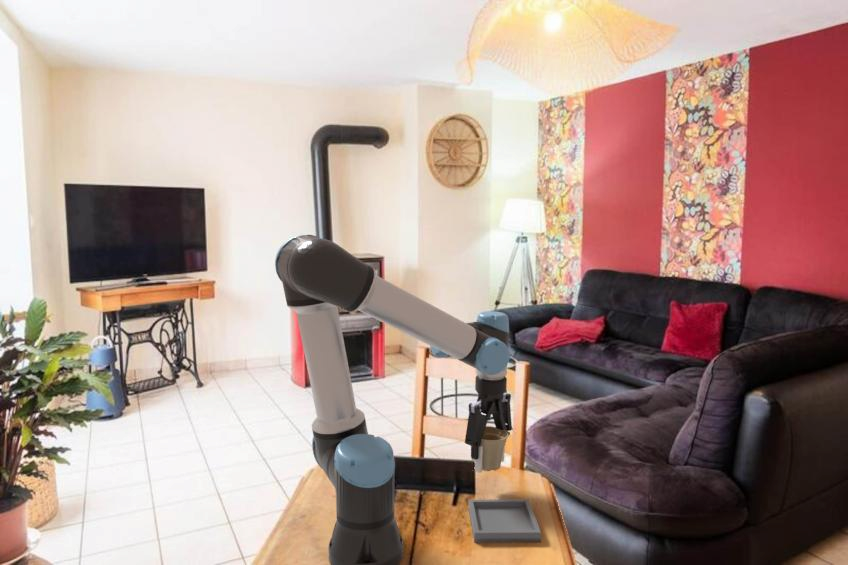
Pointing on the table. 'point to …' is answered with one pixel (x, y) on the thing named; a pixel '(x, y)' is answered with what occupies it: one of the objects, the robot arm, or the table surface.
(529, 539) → the plant tray
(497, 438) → the flower pot
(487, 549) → the table surface
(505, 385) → the robot arm
